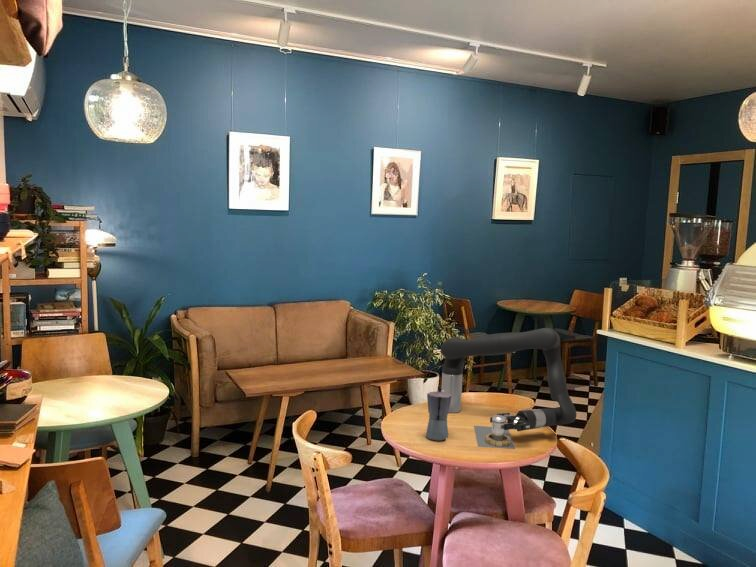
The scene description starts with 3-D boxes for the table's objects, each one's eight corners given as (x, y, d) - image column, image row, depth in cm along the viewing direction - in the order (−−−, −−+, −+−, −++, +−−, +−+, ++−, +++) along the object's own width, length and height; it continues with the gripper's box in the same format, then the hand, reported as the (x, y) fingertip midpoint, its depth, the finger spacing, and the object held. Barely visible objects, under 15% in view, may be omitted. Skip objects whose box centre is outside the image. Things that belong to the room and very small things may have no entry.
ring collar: (486, 445, 223) (486, 440, 223) (484, 437, 232) (484, 432, 232) (511, 447, 222) (511, 442, 222) (508, 438, 231) (508, 433, 231)
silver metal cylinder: (491, 444, 225) (493, 418, 224) (490, 439, 230) (491, 414, 229) (505, 444, 225) (506, 419, 224) (503, 440, 230) (504, 415, 229)
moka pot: (447, 431, 240) (450, 383, 238) (451, 445, 225) (454, 394, 223) (424, 430, 240) (426, 382, 238) (426, 444, 225) (428, 393, 223)
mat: (477, 449, 222) (477, 446, 222) (473, 427, 246) (473, 425, 246) (515, 451, 221) (515, 449, 221) (507, 430, 245) (507, 427, 244)
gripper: (520, 404, 239) (486, 408, 232) (543, 415, 226) (509, 419, 219) (519, 422, 240) (485, 427, 233) (542, 434, 227) (507, 439, 220)
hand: (497, 423), depth 226 cm, fingers open, 8 cm apart
